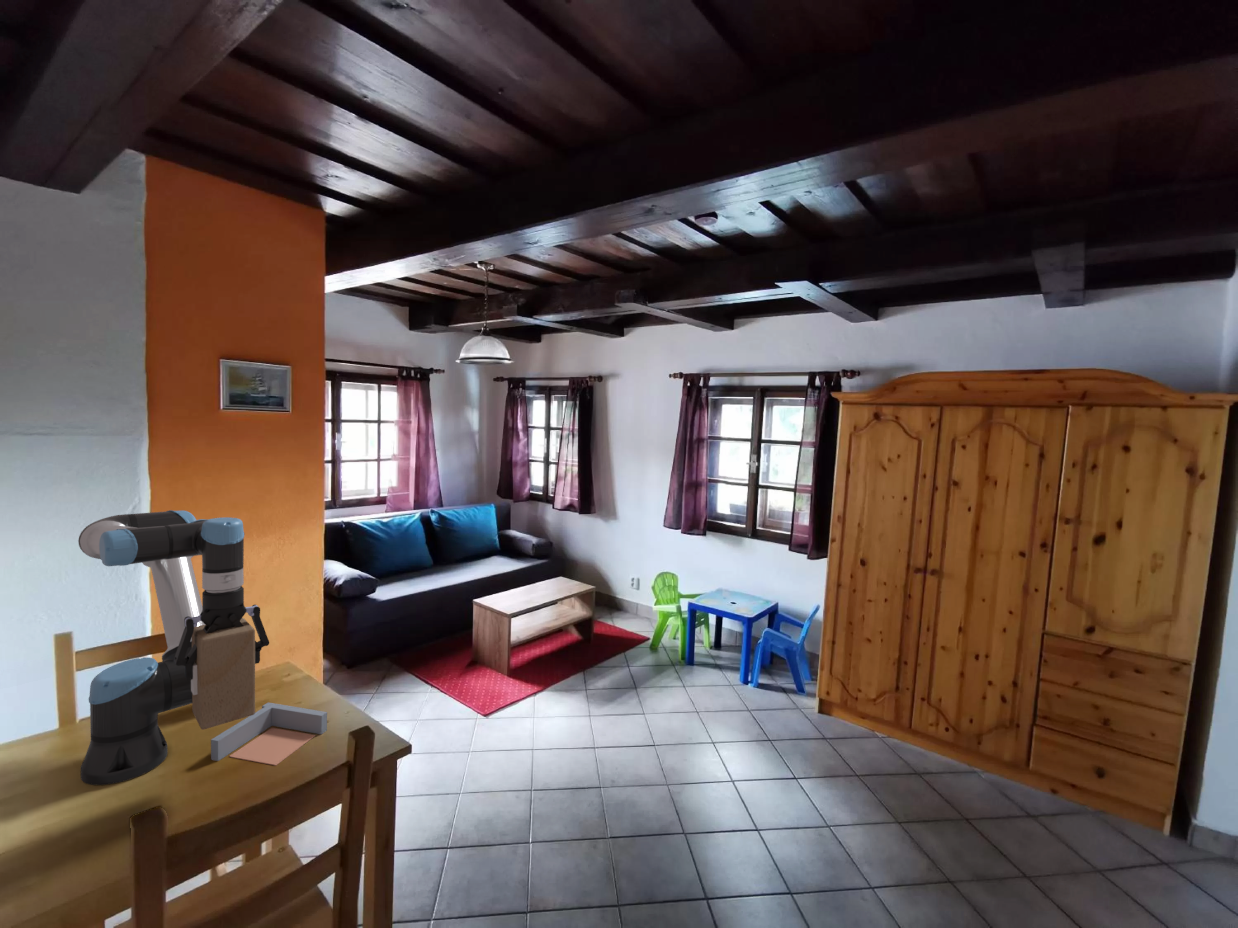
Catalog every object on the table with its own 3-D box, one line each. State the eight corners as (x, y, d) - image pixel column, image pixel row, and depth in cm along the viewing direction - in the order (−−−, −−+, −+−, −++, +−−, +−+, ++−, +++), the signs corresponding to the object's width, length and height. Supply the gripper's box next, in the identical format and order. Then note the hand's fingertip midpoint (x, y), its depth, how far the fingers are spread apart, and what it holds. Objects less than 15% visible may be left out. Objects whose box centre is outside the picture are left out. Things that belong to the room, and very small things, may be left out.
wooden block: (201, 731, 119) (200, 640, 118) (192, 712, 126) (191, 626, 125) (255, 714, 126) (255, 628, 125) (244, 698, 133) (243, 616, 132)
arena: (207, 758, 134) (207, 738, 133) (267, 720, 151) (268, 702, 151) (272, 771, 130) (273, 750, 130) (326, 730, 148) (327, 711, 148)
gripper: (161, 602, 113) (162, 708, 115) (285, 582, 130) (285, 675, 131) (155, 593, 118) (156, 694, 120) (275, 575, 135) (275, 664, 137)
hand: (223, 684), depth 126 cm, fingers closed on wooden block, 10 cm apart
